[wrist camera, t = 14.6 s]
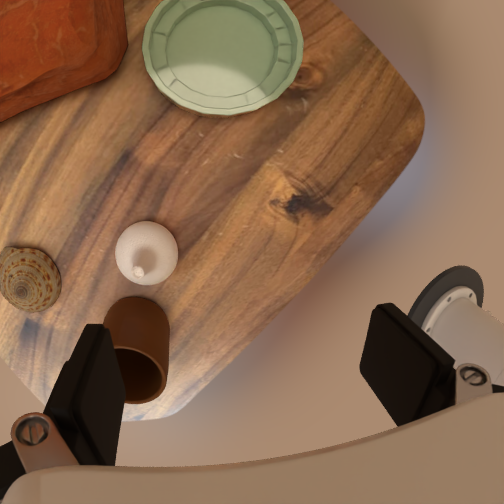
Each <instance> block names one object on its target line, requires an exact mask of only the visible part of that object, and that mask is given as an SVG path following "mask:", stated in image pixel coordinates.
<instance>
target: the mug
mask: <svg viewBox="0 0 504 504" xmlns="http://www.w3.org/2000/svg"><path fill="white" fill-rule="evenodd" d="M103 325H104V327H105V328H108V329H109V330H110V333H111V337H112V342H113V346H114V350H115V354H116V357H117V361H118V365H119V368H120V372H121V376H122V379H123V382H124V386H125V391H126V397H125V403H128V404H142V403H147V402H150V401H152V400H154V399H156V398H157V397H158V396H159V395H160V394H161V393H162V392H163V390H164V389H165V386H166V382H167V375H168V366H169V337H170V328H169V322H168V319H167V317H166V315H165V313H164V312H163V310H162V309H161V308H160V307H159V306H157V305H156V304H155V303H153V302H151V301H149V300H147V299H144V298H139V297H129V298H124V299H122V300H119V301H118V302H116V303H115V304H114V305H113V306H112V307H111V308H110V309H109V311H108V313H107V315H106V317H105V319H104V322H103Z"/></svg>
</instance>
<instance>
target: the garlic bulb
mask: <svg viewBox="0 0 504 504" xmlns="http://www.w3.org/2000/svg"><path fill="white" fill-rule="evenodd" d="M115 257H116V262H117V265H118V267H119V269H120V271H121V272H122V274H123V275H124V276H125V277H126V278H127V279H129V280H130V281H132V282H134V283H137V284H140V285H154V284H158V283H160V282H162V281H164V280H165V279H167V278H168V277H169V276H170V275H171V274H172V272H173V271H174V269H175V267H176V264H177V261H178V247H177V244H176V241H175V239H174V237H173V235H172V234H171V233H170V232H169V231H168V230H167V229H166V228H165V227H163V226H162V225H160V224H158V223H155V222H151V221H142V222H137V223H135V224H132V225H131V226H129V227H128V228H127V229H126V230H125V231H124V232H123V233H122V234H121V236H120V237H119V239H118V242H117V245H116V250H115Z"/></svg>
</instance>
